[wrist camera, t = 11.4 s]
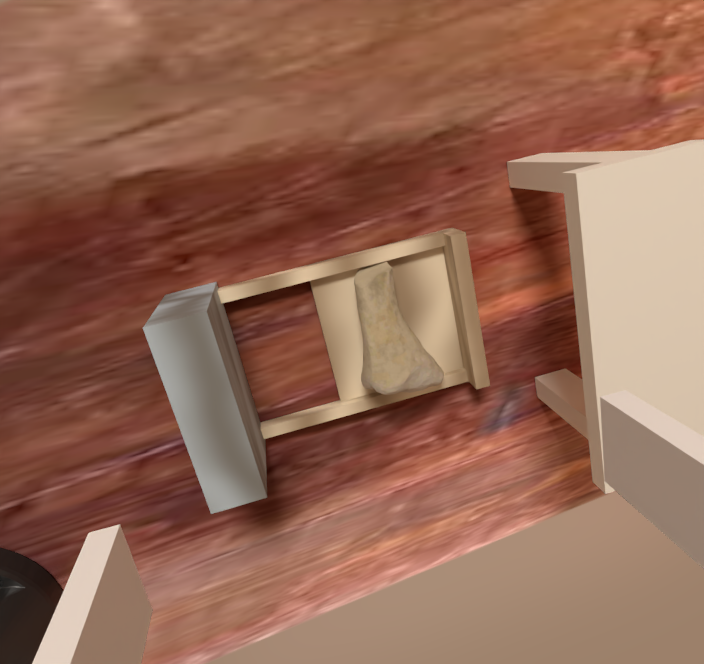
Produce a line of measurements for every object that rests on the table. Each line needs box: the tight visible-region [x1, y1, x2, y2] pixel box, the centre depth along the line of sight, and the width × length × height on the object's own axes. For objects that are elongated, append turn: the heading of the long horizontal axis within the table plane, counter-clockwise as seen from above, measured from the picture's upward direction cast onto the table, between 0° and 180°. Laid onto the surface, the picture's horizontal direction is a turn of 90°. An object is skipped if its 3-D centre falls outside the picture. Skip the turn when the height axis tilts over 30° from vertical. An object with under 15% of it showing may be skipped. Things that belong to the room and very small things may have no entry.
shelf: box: [507, 140, 704, 494], centre depth 41 cm, size 8×21×14 cm, turn 13°
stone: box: [354, 262, 444, 395], centre depth 44 cm, size 11×6×5 cm, turn 27°
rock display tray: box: [143, 228, 490, 514], centre depth 42 cm, size 23×14×9 cm, turn 103°
